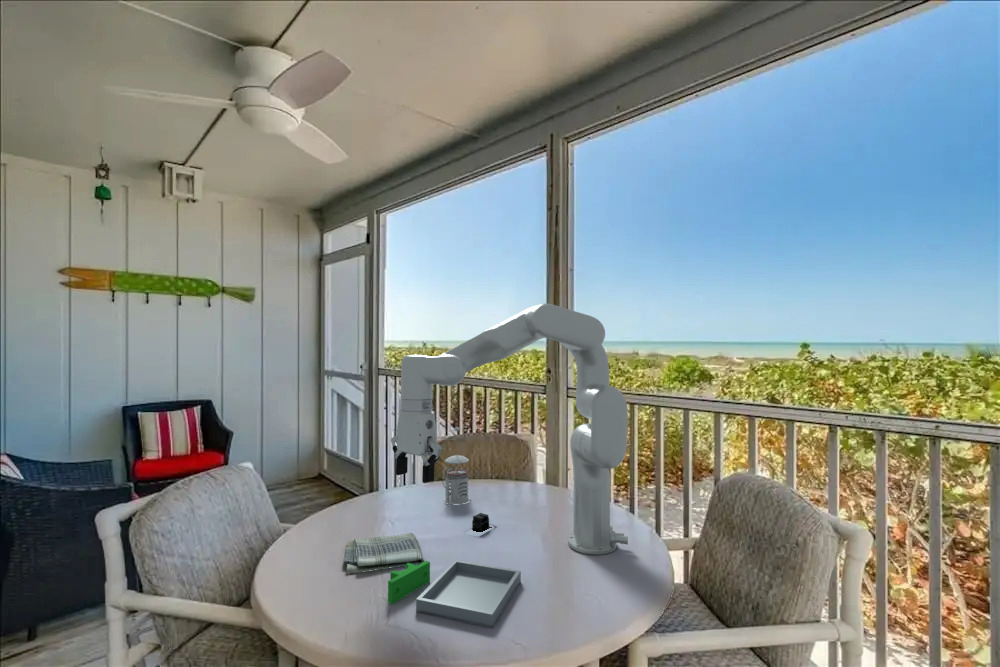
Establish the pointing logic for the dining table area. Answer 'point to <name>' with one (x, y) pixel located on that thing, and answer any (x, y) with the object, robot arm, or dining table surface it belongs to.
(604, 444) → the robot arm
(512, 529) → the dining table surface
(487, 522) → the black block
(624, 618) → the dining table surface
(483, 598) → the tray
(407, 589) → the pipe clamp
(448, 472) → the grey metal lantern
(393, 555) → the dish towel
